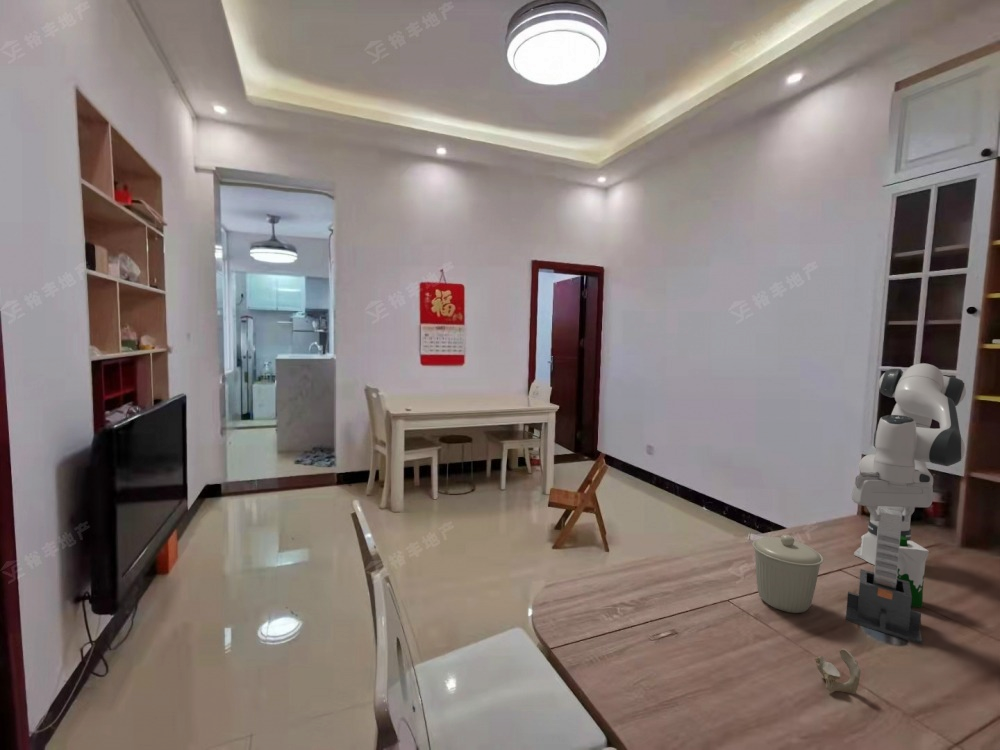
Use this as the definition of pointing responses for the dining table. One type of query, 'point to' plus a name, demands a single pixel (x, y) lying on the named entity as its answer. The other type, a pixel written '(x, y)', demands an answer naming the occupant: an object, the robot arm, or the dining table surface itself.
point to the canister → (786, 572)
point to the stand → (884, 608)
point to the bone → (832, 673)
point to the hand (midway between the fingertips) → (889, 520)
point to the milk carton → (912, 568)
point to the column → (887, 548)
